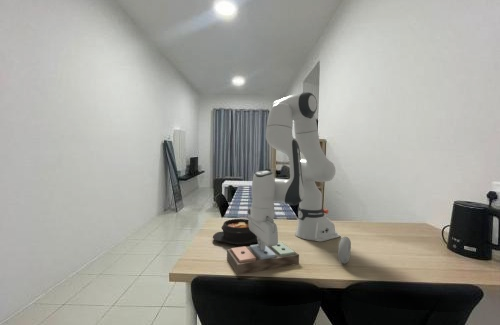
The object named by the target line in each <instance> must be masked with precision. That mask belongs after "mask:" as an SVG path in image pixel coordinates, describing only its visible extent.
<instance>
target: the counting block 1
mask: <svg viewBox="0 0 500 325" xmlns="http://www.w3.org/2000/svg"><path fill="white" fill-rule="evenodd" d="M246 247H247V246H238V247H231V248H230V249H231V253H232V254H233V255H234V257H235V258H236V260H237V261H238V262H239V263H244V262H250V261H256V257H255V256H254V255H253V254H252V253H251V252H250V251H249V250H248V249H247V248H246Z"/></svg>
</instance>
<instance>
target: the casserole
mask: <svg viewBox="0 0 500 325" xmlns="http://www.w3.org/2000/svg"><path fill="white" fill-rule="evenodd" d="M221 230H222V231H218V232H216V233H215V234H213V236H212V239H213V240H214V241H216V242H223V243H227V244H232V245H247V244H253V243H258V241H257V236H256V235H255V234H254V233H253V232H252V231H250V229H249V224H248V219H247V218H246V219H245V218H232V219H228V220H226V221H224V222H223V224H222V226H221Z"/></svg>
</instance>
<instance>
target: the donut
mask: <svg viewBox="0 0 500 325" xmlns="http://www.w3.org/2000/svg"><path fill="white" fill-rule="evenodd" d="M337 250H338V252H337V255H338V256H337V257H338V261H339V262H340V263H341V264H343V265H345V264H347V263H348V262H349V260H350V258H351V250H352V242H351V239H350V238H349V237H348V236H342V237H341V238H340V240H339V244H338V249H337Z"/></svg>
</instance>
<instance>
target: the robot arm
mask: <svg viewBox="0 0 500 325" xmlns="http://www.w3.org/2000/svg"><path fill="white" fill-rule="evenodd" d="M317 109H318V100H317V98H316V96H315V95H314V94H313V93H312V92H309V91H308V92H301V93H295V94H290V95H288V96H285V97H283V98H278V99H277V100H275V101H273V102H272V104H271V107H270V109H269V113H268V117H267V122H266V127H265V128H266V130H265V140H266V142H267V144H268V145H269V146H270V147H271V148H273V149H274V150H276V151H279V152H281V153H282V154H285V155H286V156H287V158H288V161H289V162H288V163H289V164H288V167H289V178H287V179H286V178H276V177H275V175H274V172H273V171H270V170H259V171H256V172H255V173H254V174H253V177H252V183H251V197H252V198H251V199H252V200H251V204H250V205H251V206H250V207H248V208H247V215H248V216H247V217H248V219H247V220H248V224H249V229H250V231H252V232H253V233H254V234H255V235H256V236H257V241H258V242H257V244H258V248H260V249H261V250H262V251H263V250H265V246H266V245H267V246H276V245H277V244H278V242H279V236H278V235H279V234H278V226H277V224H276V223H275V220H274V219H275V203H280V204H286V205H290V206H293V207H294V206H297V205H298V208H297V215H298V218H297V219H298V220H297V225H296V226H297V227H296V230H295V236H296V237H298V238H300V239H304V240H308V241H316V242H325V241H328V240H332V239H336V238H340V237H341V234H340V233H339V232H338V231H336V226H335V223H334V222H333V221H332V220H330V218H329V217H327V216H326V215H327V214H329V212H330V211H329V209H326V208H325V209H324V208H322V207H323V206H322V205H323V194H322V191H321V190H320V189H319V188H318V186H317V184H316V182H317V183H325V182H330V181H332V180H333V179H334V178H335V176H336V167H335V164H334V163H333V162H332V161H330V159H329V158H328V157H327V156H326V154H325V153H324V151H323V149H322V147H321V146H322V145H321V142H320V138H319V137H320V136H319V130H318V129H319V128H318V123H317V120H316V116H315V114H316V111H317ZM293 125H294V126H293ZM293 127H294V128H293ZM293 129H294V136H295V139H294V136H293ZM301 155H303V157H304V158H301ZM325 214H326V215H325Z"/></svg>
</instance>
